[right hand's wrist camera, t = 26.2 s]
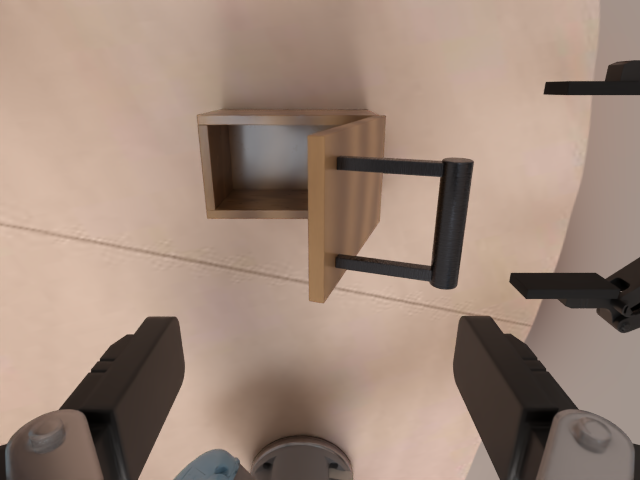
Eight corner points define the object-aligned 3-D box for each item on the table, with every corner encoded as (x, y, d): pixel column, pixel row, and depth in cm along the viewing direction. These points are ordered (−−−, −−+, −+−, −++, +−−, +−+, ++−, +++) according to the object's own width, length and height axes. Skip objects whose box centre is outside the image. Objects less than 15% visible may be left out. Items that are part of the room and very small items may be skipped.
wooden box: (227, 194, 46) (206, 218, 38) (220, 109, 43) (196, 114, 34) (364, 194, 46) (374, 219, 38) (367, 109, 43) (379, 115, 34)
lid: (308, 301, 23) (452, 326, 21) (306, 135, 20) (477, 141, 17) (370, 220, 37) (459, 229, 35) (374, 115, 34) (474, 117, 32)
